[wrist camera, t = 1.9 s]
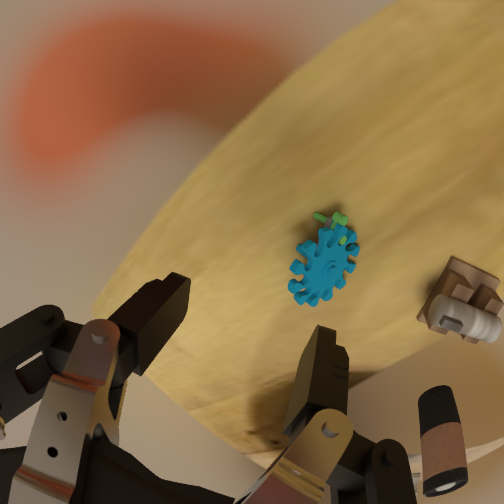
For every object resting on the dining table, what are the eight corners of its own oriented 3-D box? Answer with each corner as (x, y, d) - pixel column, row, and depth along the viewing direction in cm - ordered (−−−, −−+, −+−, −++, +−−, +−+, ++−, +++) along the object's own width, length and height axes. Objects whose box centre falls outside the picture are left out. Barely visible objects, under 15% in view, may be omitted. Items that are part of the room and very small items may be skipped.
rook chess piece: (419, 475, 53) (419, 496, 46) (405, 478, 55) (405, 499, 48) (420, 471, 52) (420, 492, 45) (406, 474, 53) (406, 495, 46)
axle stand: (408, 314, 34) (419, 355, 27) (442, 252, 29) (466, 284, 22) (464, 332, 32) (479, 369, 25) (498, 278, 27) (523, 310, 20)
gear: (341, 305, 34) (282, 314, 28) (312, 281, 38) (253, 284, 33) (377, 224, 30) (321, 212, 24) (342, 206, 35) (283, 192, 29)
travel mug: (460, 384, 36) (478, 476, 18) (440, 408, 39) (449, 494, 22) (428, 383, 37) (441, 483, 20) (409, 407, 41) (413, 499, 23)
